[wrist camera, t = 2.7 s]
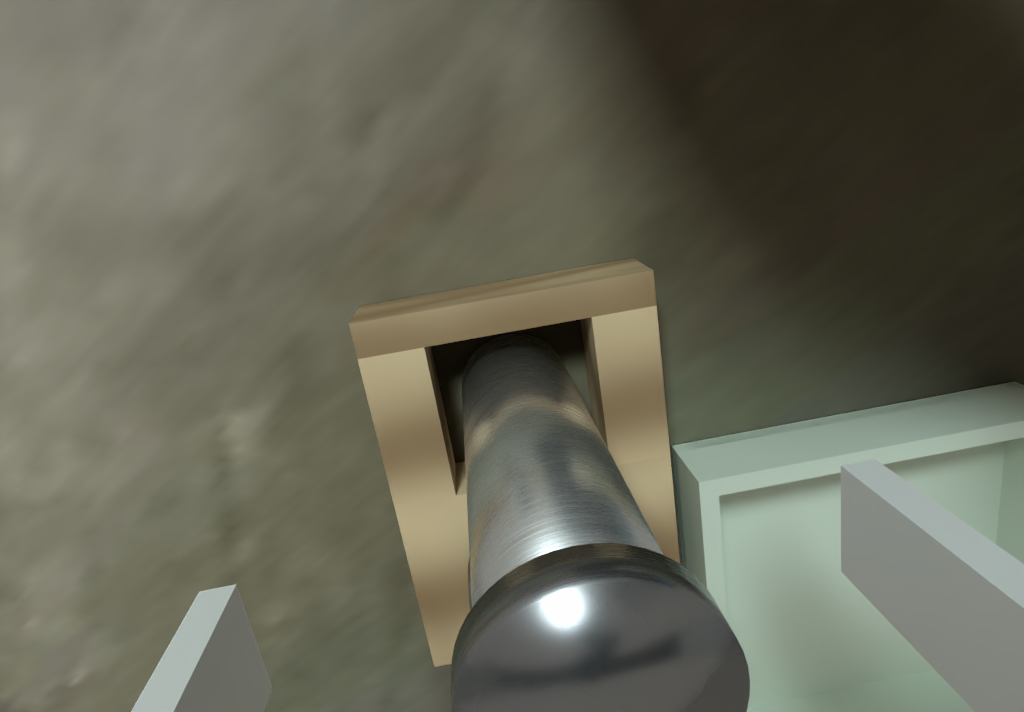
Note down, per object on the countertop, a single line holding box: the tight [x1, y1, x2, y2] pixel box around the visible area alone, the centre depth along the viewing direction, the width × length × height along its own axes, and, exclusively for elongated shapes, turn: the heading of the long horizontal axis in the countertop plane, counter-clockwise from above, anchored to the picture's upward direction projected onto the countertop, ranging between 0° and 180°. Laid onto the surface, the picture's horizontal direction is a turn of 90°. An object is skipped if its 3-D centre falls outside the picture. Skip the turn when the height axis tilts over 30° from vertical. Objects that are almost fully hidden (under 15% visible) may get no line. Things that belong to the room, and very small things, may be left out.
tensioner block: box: [349, 258, 680, 667], centre depth 23 cm, size 14×10×5 cm
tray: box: [672, 381, 1024, 712], centre depth 27 cm, size 14×14×3 cm
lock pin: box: [451, 334, 750, 712], centre depth 17 cm, size 5×5×15 cm
